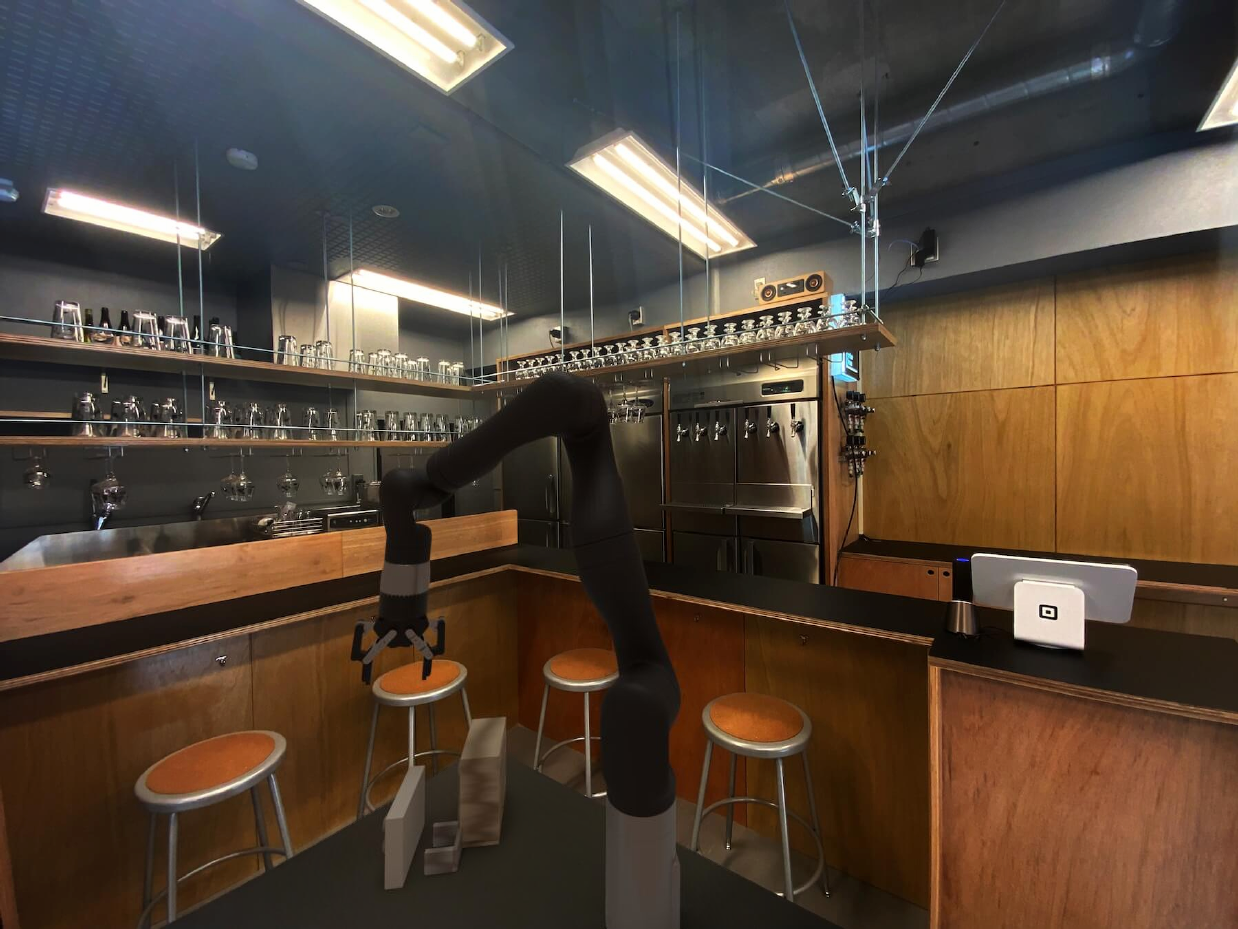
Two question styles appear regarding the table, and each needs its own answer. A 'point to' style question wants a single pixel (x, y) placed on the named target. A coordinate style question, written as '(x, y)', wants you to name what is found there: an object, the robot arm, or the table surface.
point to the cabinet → (474, 797)
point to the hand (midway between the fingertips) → (396, 680)
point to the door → (404, 827)
